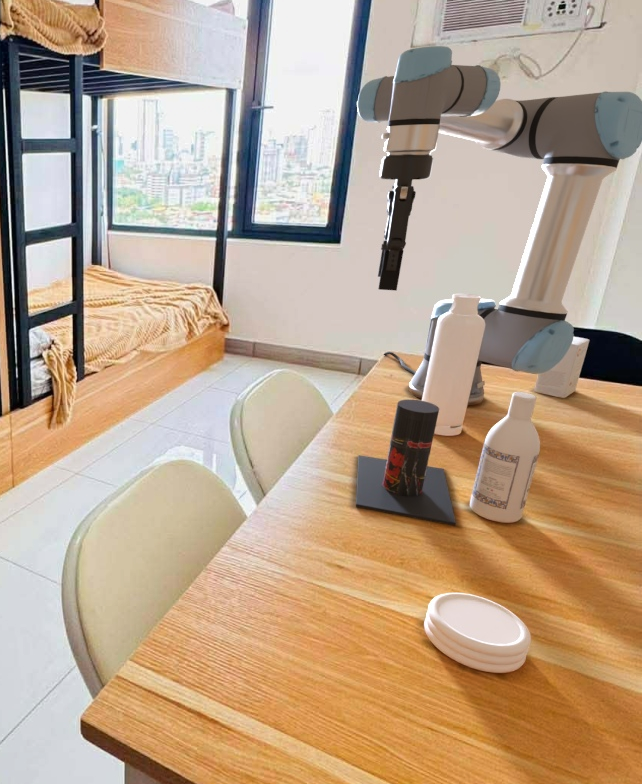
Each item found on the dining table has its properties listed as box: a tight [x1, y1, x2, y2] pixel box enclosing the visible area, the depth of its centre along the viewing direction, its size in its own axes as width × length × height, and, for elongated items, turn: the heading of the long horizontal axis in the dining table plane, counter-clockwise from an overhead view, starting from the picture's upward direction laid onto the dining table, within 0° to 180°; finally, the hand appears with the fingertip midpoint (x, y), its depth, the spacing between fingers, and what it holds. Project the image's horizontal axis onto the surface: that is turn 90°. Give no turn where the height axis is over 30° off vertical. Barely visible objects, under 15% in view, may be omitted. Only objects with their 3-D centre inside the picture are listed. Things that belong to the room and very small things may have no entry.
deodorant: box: [383, 399, 439, 497], centre depth 104 cm, size 6×6×15 cm
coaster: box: [423, 592, 532, 674], centre depth 72 cm, size 10×10×4 cm
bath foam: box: [469, 391, 541, 524], centre depth 96 cm, size 7×7×20 cm
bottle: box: [421, 292, 485, 437], centre depth 127 cm, size 8×8×28 cm
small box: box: [533, 336, 590, 399], centre depth 149 cm, size 8×6×13 cm
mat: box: [355, 454, 457, 527], centre depth 108 cm, size 20×14×1 cm
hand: (386, 283), depth 110 cm, fingers open, 13 cm apart
